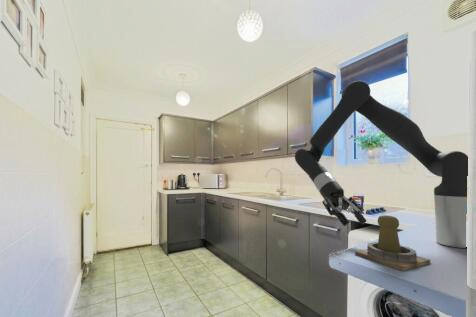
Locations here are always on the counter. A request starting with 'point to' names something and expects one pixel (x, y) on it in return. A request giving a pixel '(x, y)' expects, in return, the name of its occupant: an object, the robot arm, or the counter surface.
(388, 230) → the brown tapered knobbed cylinder
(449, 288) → the counter surface
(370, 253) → the spice stand
